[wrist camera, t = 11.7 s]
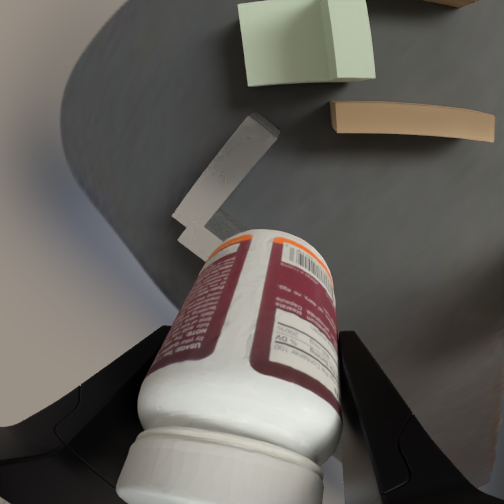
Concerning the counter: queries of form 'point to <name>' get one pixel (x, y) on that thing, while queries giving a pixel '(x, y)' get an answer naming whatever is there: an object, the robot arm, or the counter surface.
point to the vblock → (222, 187)
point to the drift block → (306, 41)
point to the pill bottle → (243, 383)
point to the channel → (412, 114)
